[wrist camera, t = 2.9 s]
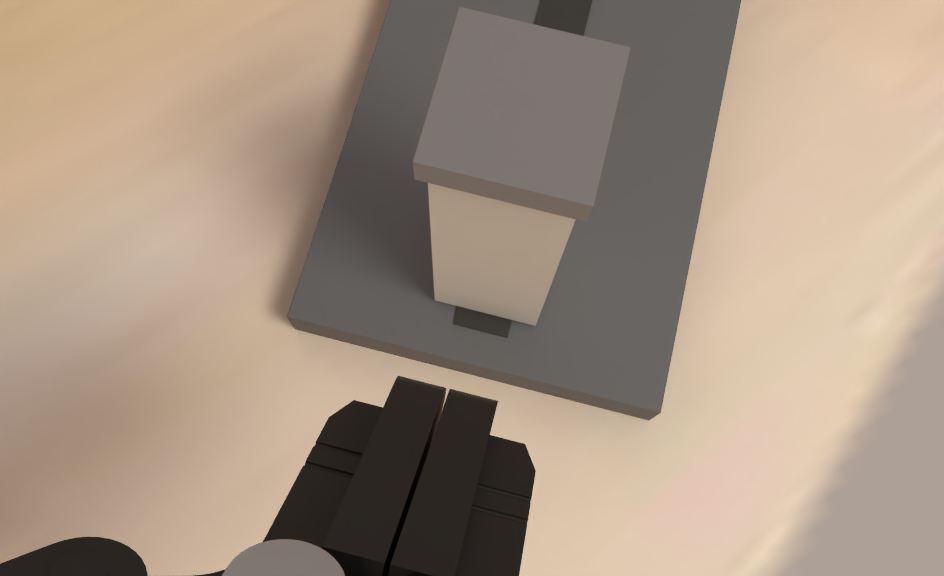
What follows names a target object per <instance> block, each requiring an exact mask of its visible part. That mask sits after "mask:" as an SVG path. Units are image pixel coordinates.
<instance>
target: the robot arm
mask: <svg viewBox="0 0 944 576" xmlns="http://www.w3.org/2000/svg"><path fill="white" fill-rule="evenodd" d="M445 394H446V388H444V387H440V386H436V385H432V384H428V383H424V382H420V381H416V380H412V379H409V378H405V377H401V376H398V377H397V378H396V380H395V383H394V385H393V387H392V389H391V392H390V394H389V396H388V398H387V401H386V403H385V405H384V407H383V408H382V407H378V406H374V405H370V404H367V403H363V402H359V401H355V400H353V401H352V402H351V403H349V404H348V405H346V406H345V407H343V408H342V409H340V410H339V411H338V412H336V413H335V414H333V415H332V416H330V417H329V418H328V420H327V422H326V424H325V426H324V428H323V430H322V431H321V433H320V435H319V437H318V439H317V441H316V445H315V446H314V447H313V448H312V450H311V452H310V454H309V456H308V458H307V460H306V463H305V466H303V467H302V469H301V471H300V473H299V475H298V477H297V479H296V481H295V483H294V484H293V486H292V488H291V490H290V492H289V494H288V496H287V498H286V500H285V501H284V503H283V505H282V507H281V509H280V511H279V513H278V515H277V517H276V518H275V520H274V522H273V524H272V526H271V528H270V530H269V532H268V534H267V535H266V537H265V539H264V541H263V542H262V543H259V544H256V545H254V546H252V547H249V548H248V549H246V550H244V551H243V552H241V553H240V554H239V555H238V556H237V557H235V558H234V559H233V561H232V562H231V563H230V564H229V565H228V567H227V568H226V569H225V570H222V571H219V572H215V573H211V574H205V575H195V576H519V571H520V565H521V559H522V553H523V546H524V540H525V534H526V528H527V521H528V515H529V509H530V501H531V496H532V490H533V484H534V478H535V468H534V466H533V463H532V461H531V458H530V456H529V453H528V451H527V448H526V446H525V444H522V443H518V442H514V441H511V440H507V439H503V438H499V437H495V436H491V435H490V431H491V427H492V423H493V419H494V415H495V411H496V407H497V402H498V401H495V400H491V399H487V398H483V397H480V396H476V395H472V394H468V393H464V392H460V391H456V390H452V389H450V390H449V393H448V396H447V399H446V402H445V404H444V400H445ZM443 404H444V407H443ZM442 409H443V410H442ZM0 576H147V570H146V566H145V564H144V562H143V561H142V559H141V558H140V556H139V555H138V554H137V553H136V552H135V551H134V550H132V549H131V548H130V547H128V546H126V545H124V544H122V543H120V542H117V541H114V540H111V539H106V538H100V537H81V538H73V539H68V540H64V541H60V542H57V543H54V544H51V545H49V546H46V547H43V548H41V549H38V550H36V551H33V552H30V553H28V554H25V555H22V556H20V557H17V558H14V559H12V560H9V561H6V562H4V563H1V564H0Z"/></svg>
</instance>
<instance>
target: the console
mask: <svg viewBox="0 0 944 576" xmlns="http://www.w3.org/2000/svg"><path fill="white" fill-rule="evenodd" d="M740 3H741V0H391V2H390V5H389V8H388V11H387V14H386V18H385V21H384V24H383V27H382V30H381V33H380V36H379V39H378V42H377V45H376V48H375V51H374V54H373V57H372V60H371V63H370V66H369V69H368V72H367V75H366V78H365V81H364V85H363V88H362V91H361V94H360V97H359V100H358V103H357V106H356V109H355V112H354V115H353V118H352V121H351V124H350V127H349V130H348V133H347V136H346V139H345V142H344V145H343V149H342V152H341V155H340V158H339V161H338V164H337V167H336V170H335V173H334V176H333V179H332V182H331V185H330V188H329V191H328V194H327V197H326V200H325V203H324V206H323V209H322V212H321V216H320V219H319V222H318V225H317V228H316V231H315V234H314V237H313V240H312V243H311V246H310V249H309V252H308V255H307V258H306V261H305V264H304V267H303V270H302V273H301V276H300V280H299V283H298V286H297V289H296V292H295V295H294V298H293V301H292V304H291V307H290V310H289V313H288V316H287V317H288V318H289V320H290V321H291V323H292V324H293V326H294V327H295V329H297V330H301V331H305V332H309V333H313V334H317V335H320V336H324V337H328V338H332V339H336V340H340V341H344V342H348V343H351V344H355V345H359V346H363V347H367V348H371V349H375V350H379V351H382V352H386V353H390V354H394V355H398V356H402V357H406V358H410V359H414V360H417V361H421V362H425V363H429V364H433V365H437V366H441V367H445V368H448V369H452V370H456V371H460V372H464V373H468V374H472V375H476V376H479V377H483V378H487V379H491V380H495V381H499V382H503V383H507V384H510V385H514V386H518V387H522V388H526V389H530V390H534V391H538V392H542V393H545V394H549V395H553V396H557V397H561V398H565V399H569V400H573V401H576V402H580V403H584V404H588V405H592V406H596V407H600V408H604V409H607V410H611V411H615V412H619V413H623V414H627V415H631V416H635V417H639V418H642V419H646V420H650V419H652V418H653V417H655V416H656V415H658V414H659V413H660V412H661V407H662V402H663V397H664V392H665V387H666V382H667V377H668V371H669V366H670V361H671V356H672V351H673V346H674V341H675V336H676V331H677V325H678V320H679V315H680V310H681V305H682V300H683V295H684V290H685V285H686V279H687V274H688V269H689V264H690V259H691V254H692V249H693V244H694V239H695V233H696V228H697V223H698V218H699V213H700V208H701V203H702V198H703V192H704V187H705V182H706V177H707V172H708V167H709V162H710V157H711V152H712V146H713V141H714V136H715V131H716V126H717V121H718V116H719V111H720V106H721V100H722V95H723V90H724V85H725V80H726V75H727V70H728V65H729V60H730V54H731V49H732V44H733V39H734V34H735V29H736V24H737V19H738V14H739V8H740ZM459 7H463V8H467V9H471V10H476V11H480V12H484V13H488V14H492V15H497V16H501V17H505V18H509V19H514V20H518V21H522V22H526V23H530V24H535V25H539V26H543V27H547V28H551V29H556V30H560V31H564V32H568V33H573V34H577V35H581V36H585V37H589V38H594V39H598V40H602V41H606V42H611V43H615V44H619V45H623V46H627V47H631V48H630V52H629V56H628V61H627V65H626V69H625V74H624V78H623V82H622V86H621V91H620V95H619V99H618V104H617V108H616V112H615V116H614V121H613V125H612V129H611V134H610V138H609V142H608V146H607V151H606V155H605V159H604V164H603V168H602V172H601V176H600V181H599V185H598V189H597V194H596V198H595V202H594V206H593V209H592V211H591V214H590V216H589V219H588V221H587V222H584V221H580V220H575V222H574V225H573V228H572V230H571V233H570V236H569V238H568V241H567V244H566V246H565V249H564V252H563V254H562V257H561V260H560V262H559V265H558V268H557V270H556V273H555V276H554V278H553V281H552V284H551V286H550V289H549V292H548V294H547V297H546V300H545V302H544V305H543V308H542V310H541V313H540V316H539V318H538V321H537V324H536V326H534V325H530V324H526V323H522V322H518V321H514V320H510V319H506V318H502V317H498V316H494V315H490V314H486V313H482V312H479V311H475V310H471V309H467V308H463V307H459V306H455V305H451V304H447V303H443V302H439V301H435V297H434V280H433V263H432V246H431V229H430V212H429V195H428V183H427V182H423V181H419V180H415V179H414V170H413V159H414V156H415V153H416V150H417V146H418V143H419V140H420V136H421V133H422V130H423V126H424V123H425V120H426V116H427V113H428V110H429V106H430V103H431V100H432V96H433V93H434V90H435V87H436V83H437V80H438V77H439V73H440V70H441V67H442V63H443V60H444V57H445V53H446V50H447V47H448V43H449V40H450V37H451V33H452V30H453V27H454V24H455V20H456V17H457V14H458V10H459Z"/></svg>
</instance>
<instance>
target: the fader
mask: <svg viewBox="0 0 944 576" xmlns="http://www.w3.org/2000/svg"><path fill="white" fill-rule="evenodd" d="M630 48H631V47H627V46H623V45H619V44H615V43H611V42H606V41H602V40H598V39H594V38H589V37H585V36H581V35H577V34H573V33H568V32H564V31H560V30H556V29H551V28H547V27H543V26H539V25H535V24H530V23H526V22H522V21H518V20H514V19H509V18H505V17H501V16H497V15H492V14H488V13H484V12H480V11H476V10H471V9H467V8H463V7H459V10H458V14H457V17H456V20H455V24H454V27H453V30H452V33H451V37H450V40H449V43H448V47H447V50H446V53H445V57H444V60H443V63H442V67H441V70H440V73H439V77H438V80H437V83H436V87H435V90H434V93H433V96H432V100H431V103H430V106H429V110H428V113H427V116H426V120H425V123H424V126H423V130H422V133H421V136H420V140H419V143H418V146H417V150H416V153H415V156H414V159H413V170H414V179H415V180H419V181H423V182H427V183H428V195H429V212H430V229H431V246H432V263H433V280H434V297H435V301H439V302H443V303H447V304H451V305H455V306H459V307H463V308H467V309H471V310H475V311H479V312H482V313H486V314H490V315H494V316H498V317H502V318H506V319H510V320H514V321H518V322H522V323H526V324H530V325H534V326H536V324H537V321H538V318H539V316H540V313H541V310H542V308H543V305H544V302H545V300H546V297H547V294H548V292H549V289H550V286H551V284H552V281H553V278H554V276H555V273H556V270H557V268H558V265H559V262H560V260H561V257H562V254H563V252H564V249H565V246H566V244H567V241H568V238H569V236H570V233H571V230H572V228H573V225H574V222H575V220H580V221H584V222H587V221H588V219H589V216H590V214H591V211H592V209H593V206H594V202H595V198H596V194H597V189H598V185H599V181H600V176H601V172H602V168H603V164H604V159H605V155H606V151H607V146H608V142H609V138H610V134H611V129H612V125H613V121H614V116H615V112H616V108H617V104H618V99H619V95H620V91H621V86H622V82H623V78H624V74H625V69H626V65H627V61H628V56H629V52H630Z"/></svg>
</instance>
